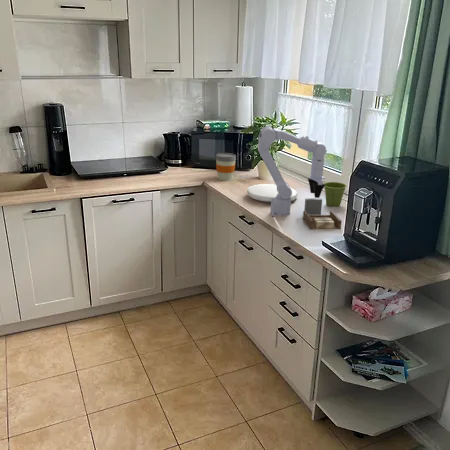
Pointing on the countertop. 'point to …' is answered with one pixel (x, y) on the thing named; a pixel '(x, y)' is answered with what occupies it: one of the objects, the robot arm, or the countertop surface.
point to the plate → (266, 192)
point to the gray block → (313, 205)
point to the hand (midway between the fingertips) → (314, 195)
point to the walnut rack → (310, 218)
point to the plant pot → (334, 193)
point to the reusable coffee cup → (225, 165)
